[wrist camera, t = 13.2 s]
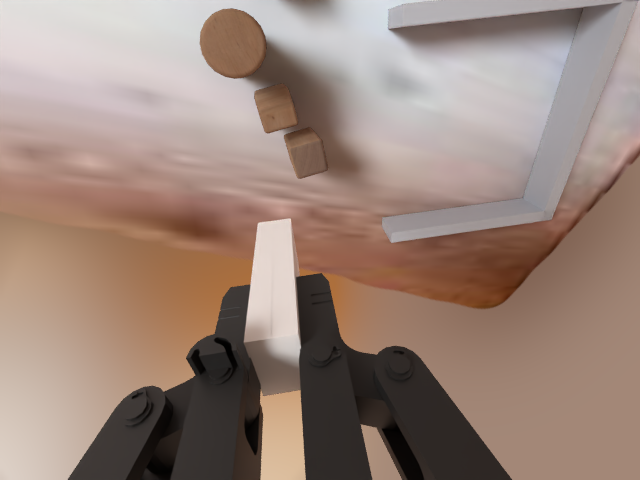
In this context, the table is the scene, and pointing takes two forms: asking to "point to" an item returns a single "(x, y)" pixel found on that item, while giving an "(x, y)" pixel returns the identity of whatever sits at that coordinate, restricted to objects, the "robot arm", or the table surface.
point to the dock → (563, 122)
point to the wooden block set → (272, 102)
